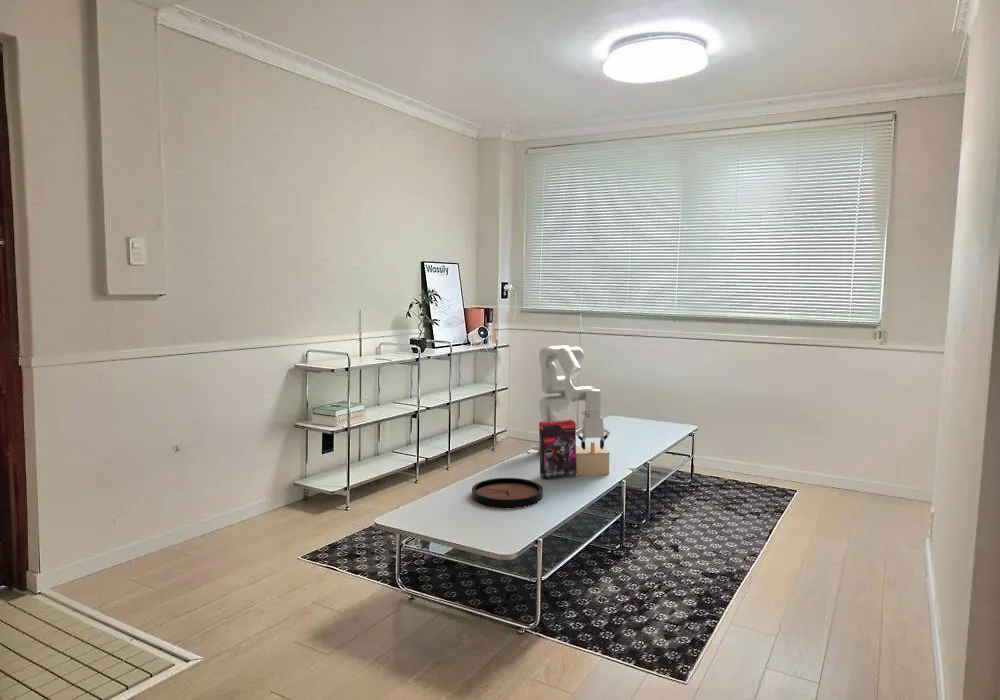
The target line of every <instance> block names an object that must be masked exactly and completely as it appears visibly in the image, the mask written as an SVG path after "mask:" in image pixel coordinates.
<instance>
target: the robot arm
mask: <svg viewBox="0 0 1000 700" xmlns="http://www.w3.org/2000/svg"><path fill="white" fill-rule="evenodd" d="M538 353H539V354H538V361H539V364H540V371H541V372H540V373H541V380H540V381H541V390H542V391H541V392H543V393H544V394H546V395H547V394H548V395H547V396H543V397H541V398H540V399H539V401H538V408H539V414H540V415H539V416H540V417H539V418H540V422H548V421H559V420H558V419H557V417H556V415H555V414H558V413H566V412H569V410H570V408H571V402H572V403H580V402H585V403H584V405H585V406H584V409H585V410H584V411H582V413H581V414H582V415H583V419H582V426H581V427H582V428H580V429H579V430H577V431H576V438H578V439H579V440H580V441H581V443H580V445H581V447H582V448H583V450H585V446H586V441H585V440H586V439H587V438H588V439H594V438H597V439H598V438H600V441H599V446H600V448H601V449H603V447H605V441H606V440H607V438H609V436H610V434H611V432H610V431H609V430H607V429H606V428H604V419H603V416H602V413H601V411H602V408H601V407H602V403H601V402H602V390H601V389H600V388H595V387H593V386H592V385H585V386H584V385H583V386H582V385H581V386H574V384H573V383H572V380H574V379H576V378H577V377H578V376H579V375H580V374H581V372H582V368H581V366H580V364H579V363H581V362H583V360H584V358H585V354H584V351H583V349H582V348H581V347H580V346H577V345H569V344H568V345H567V344H562V345H548V346H544V347H541V349H540V350H539V352H538ZM555 362H558V363H559V365H560V367H561V369H562V370H563V373H564V374H563V375H558V368H557V366H556V364H555ZM549 394H550V395H549ZM552 394H558V395H552ZM580 434H582V436H581V435H580ZM531 449H532V450H534V451H537V453H538V455H540V444H538V445H532V446H531Z"/></svg>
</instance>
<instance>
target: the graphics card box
mask: <svg viewBox="0 0 1000 700" xmlns="http://www.w3.org/2000/svg"><path fill="white" fill-rule="evenodd" d="M576 424H577V423H576V422H575V421H574V420H572V419H567V420H558V421H548V422H541V421H539V424H538V427H539V429H538V430H539V431H538V433H539V436H538V437H539V445H540V454H539V475H540V476H539V477H540V478H542V480H544V481H546V480H554V479H556V480H557V479H564V478H575V477H577V474H576V445H577V444H576V441H577V440H576V439H577V435H576V432H577V430H576Z"/></svg>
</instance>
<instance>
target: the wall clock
mask: <svg viewBox="0 0 1000 700" xmlns="http://www.w3.org/2000/svg"><path fill="white" fill-rule="evenodd" d="M543 492H544V489H543V486H542V485H541V484H540V483H538V482H536V481H533V480H530V479H526V478H518V477H499V478H489V479H485V480H482V481H479V482H477V483H476V484H474V485H472V488H471V498H473V499H472V500H473V501H474V502H475V503H476V502H477V503H476V504H478V503H479V504H478V505H480V504H481V505H480V506H483V505H484V507H487V508H493V507H494V509H506V508H509V509H517V508H516V507H522V508H525V507H524V506H527V507H529V506H528V505H531V506H533V505H532V504H534V505H536V504H538V503H539V502H538V501H540V500H541V499H542V500H543V498H542V497H543V496H544V493H543ZM542 500H541V501H542ZM541 501H540V502H541ZM537 502H538V503H537ZM535 503H536V504H535Z"/></svg>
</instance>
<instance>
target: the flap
mask: <svg viewBox="0 0 1000 700" xmlns="http://www.w3.org/2000/svg"><path fill="white" fill-rule="evenodd" d="M610 453H611V452H610V451H608V449H607V448H606V447H605V446H604V447H603V449H601V448H600V445H596V443H595V442H594V441H591V442H590V445H585V450H583V448H582V447H581V446H580V445H579V446H576V455H594V454H609V455H610Z"/></svg>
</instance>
